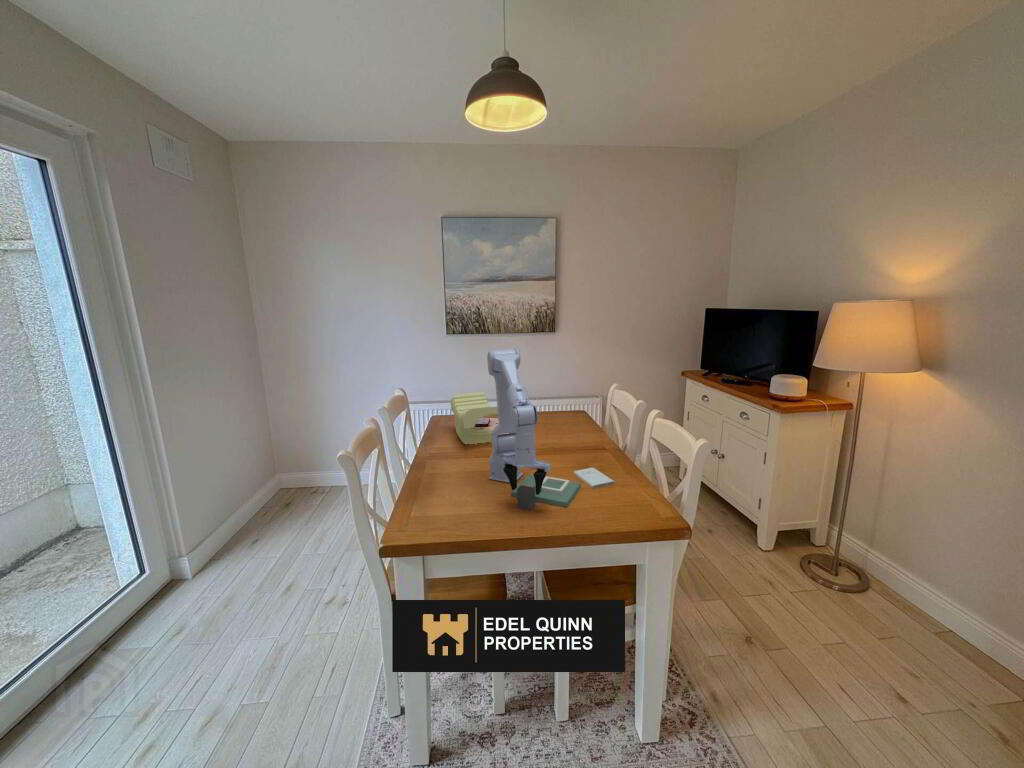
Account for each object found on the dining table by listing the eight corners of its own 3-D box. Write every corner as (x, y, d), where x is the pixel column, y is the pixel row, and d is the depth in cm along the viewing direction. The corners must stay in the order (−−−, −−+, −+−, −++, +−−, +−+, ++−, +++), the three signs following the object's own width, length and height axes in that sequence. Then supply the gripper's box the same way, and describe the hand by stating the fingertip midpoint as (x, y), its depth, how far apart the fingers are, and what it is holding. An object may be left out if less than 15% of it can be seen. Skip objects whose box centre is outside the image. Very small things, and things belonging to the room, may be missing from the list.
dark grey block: (517, 508, 117) (516, 488, 116) (523, 502, 120) (522, 483, 119) (530, 511, 115) (529, 491, 114) (535, 504, 119) (535, 485, 117)
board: (511, 496, 124) (510, 488, 124) (529, 478, 137) (528, 470, 136) (566, 507, 117) (566, 498, 116) (580, 487, 129) (580, 479, 128)
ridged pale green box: (452, 431, 190) (450, 394, 186) (485, 427, 195) (483, 391, 191) (465, 453, 162) (462, 410, 158) (503, 447, 167) (501, 406, 163)
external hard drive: (592, 490, 128) (573, 475, 139) (614, 485, 131) (593, 471, 142) (592, 485, 128) (573, 470, 139) (614, 480, 130) (593, 466, 142)
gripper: (495, 447, 114) (497, 492, 116) (543, 454, 107) (544, 501, 110) (506, 440, 120) (508, 482, 123) (552, 446, 114) (553, 490, 116)
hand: (526, 490), depth 117 cm, fingers open, 7 cm apart
